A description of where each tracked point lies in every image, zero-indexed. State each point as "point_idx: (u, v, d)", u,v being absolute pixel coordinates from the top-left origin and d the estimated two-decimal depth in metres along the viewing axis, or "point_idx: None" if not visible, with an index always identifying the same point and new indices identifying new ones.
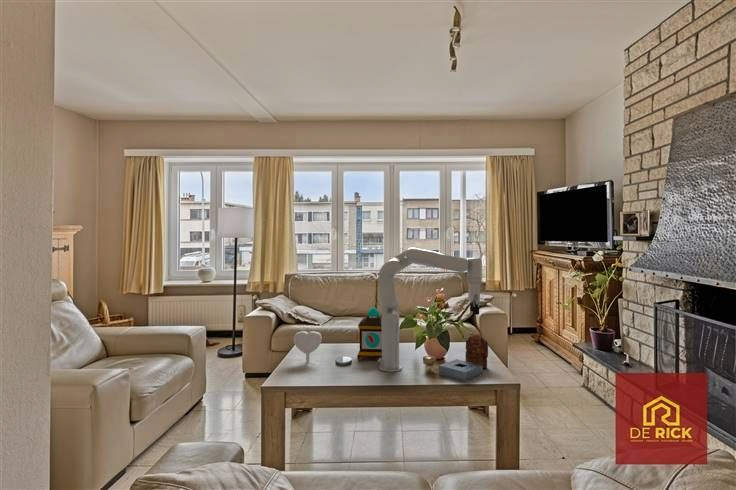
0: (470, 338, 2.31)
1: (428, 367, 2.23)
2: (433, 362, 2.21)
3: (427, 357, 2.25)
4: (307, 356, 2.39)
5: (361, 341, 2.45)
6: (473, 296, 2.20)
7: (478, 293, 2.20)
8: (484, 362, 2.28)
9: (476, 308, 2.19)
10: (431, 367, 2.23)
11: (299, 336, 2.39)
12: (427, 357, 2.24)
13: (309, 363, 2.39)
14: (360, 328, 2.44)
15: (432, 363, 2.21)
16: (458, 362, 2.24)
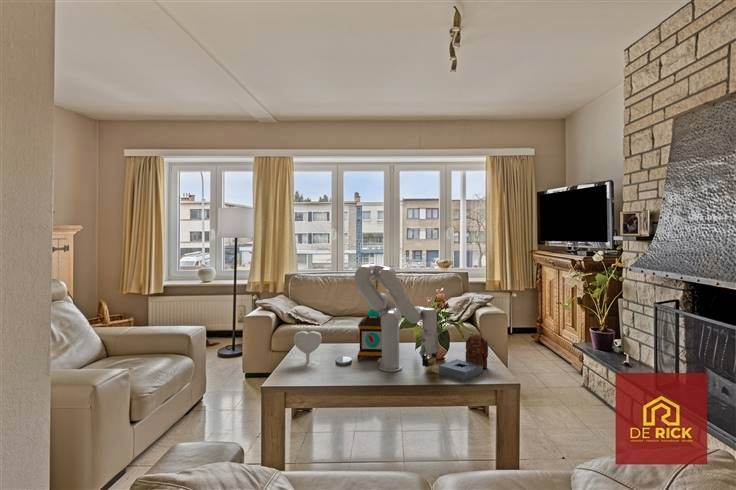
0: (470, 338, 2.31)
1: (428, 367, 2.23)
2: (433, 362, 2.21)
3: (427, 357, 2.25)
4: (307, 356, 2.39)
5: (361, 341, 2.45)
6: None
7: None
8: (484, 362, 2.28)
9: None
10: (431, 367, 2.23)
11: (299, 336, 2.39)
12: (427, 357, 2.24)
13: (309, 363, 2.39)
14: (360, 328, 2.44)
15: (432, 363, 2.21)
16: (458, 362, 2.24)
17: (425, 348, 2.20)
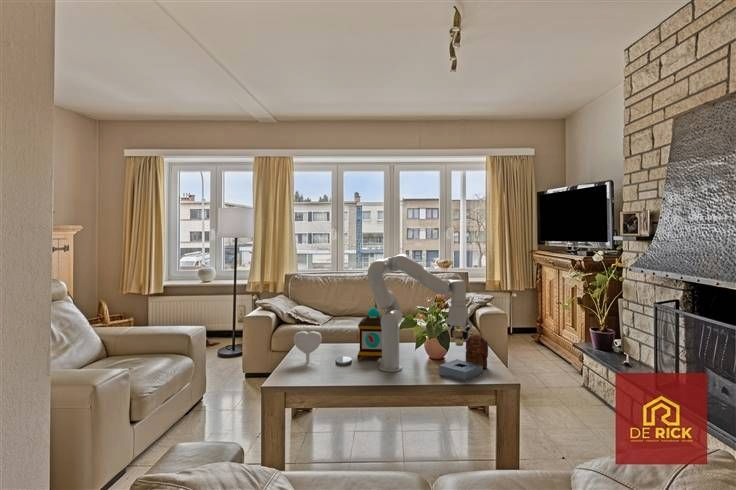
0: (470, 338, 2.31)
1: (455, 339, 2.19)
2: (454, 334, 2.17)
3: (459, 330, 2.19)
4: (307, 356, 2.39)
5: (361, 341, 2.45)
6: (466, 320, 2.14)
7: (468, 316, 2.16)
8: (484, 362, 2.28)
9: (467, 333, 2.15)
10: (456, 340, 2.18)
11: (299, 336, 2.39)
12: (457, 330, 2.20)
13: (309, 363, 2.39)
14: (360, 328, 2.44)
15: (453, 335, 2.17)
16: (458, 362, 2.24)
17: None
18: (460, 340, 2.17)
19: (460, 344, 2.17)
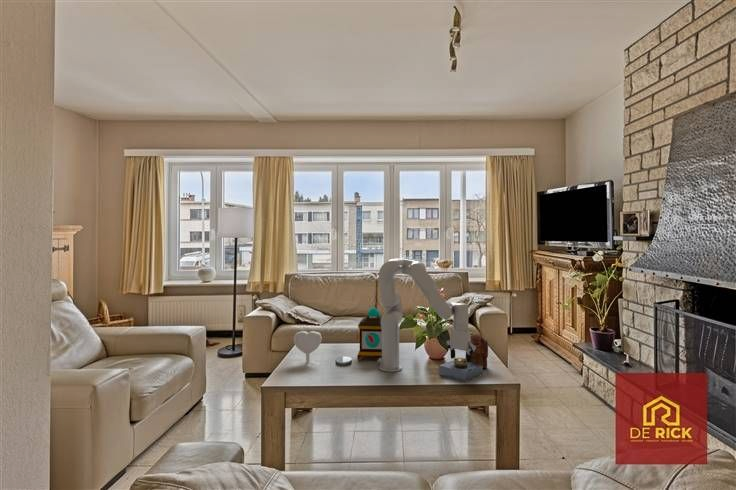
0: None
1: None
2: (455, 363, 2.17)
3: (461, 359, 2.19)
4: (307, 356, 2.39)
5: (361, 341, 2.45)
6: (467, 344, 2.14)
7: (470, 340, 2.16)
8: (484, 362, 2.28)
9: (470, 355, 2.14)
10: None
11: (299, 336, 2.39)
12: (459, 359, 2.20)
13: (309, 363, 2.39)
14: (360, 328, 2.44)
15: (455, 364, 2.17)
16: None
17: None
18: None
19: None
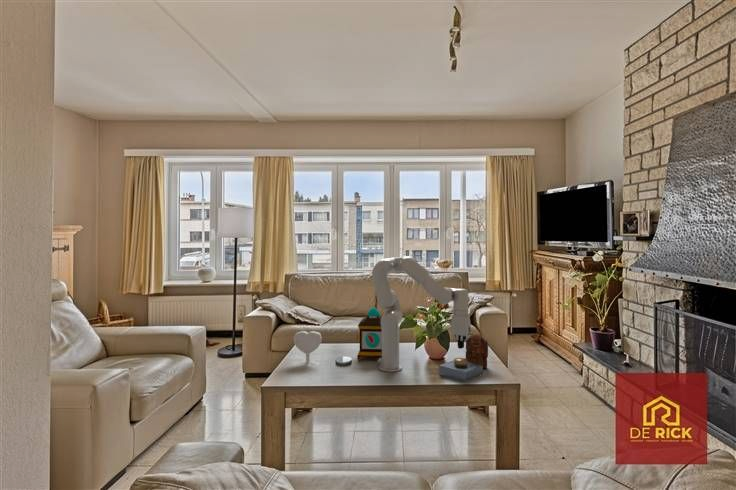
0: (470, 338, 2.31)
1: None
2: (455, 363, 2.17)
3: (461, 359, 2.19)
4: (307, 356, 2.39)
5: (361, 341, 2.45)
6: (467, 329, 2.14)
7: (470, 325, 2.16)
8: (484, 362, 2.28)
9: (463, 342, 2.17)
10: None
11: (299, 336, 2.39)
12: (459, 359, 2.20)
13: (309, 363, 2.39)
14: (360, 328, 2.44)
15: (455, 364, 2.17)
16: None
17: None
18: None
19: None
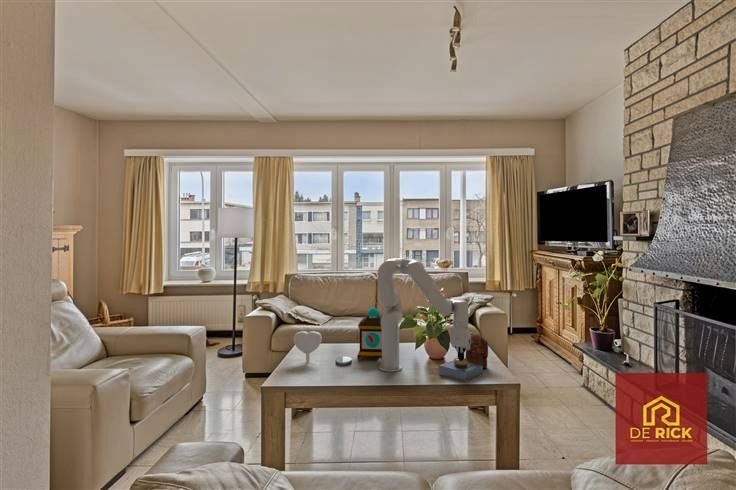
0: None
1: None
2: (455, 363, 2.17)
3: None
4: (307, 356, 2.39)
5: (361, 341, 2.45)
6: (467, 341, 2.14)
7: (470, 337, 2.16)
8: (484, 362, 2.28)
9: (463, 353, 2.17)
10: None
11: (299, 336, 2.39)
12: None
13: (309, 363, 2.39)
14: (360, 328, 2.44)
15: (455, 364, 2.17)
16: None
17: None
18: None
19: None
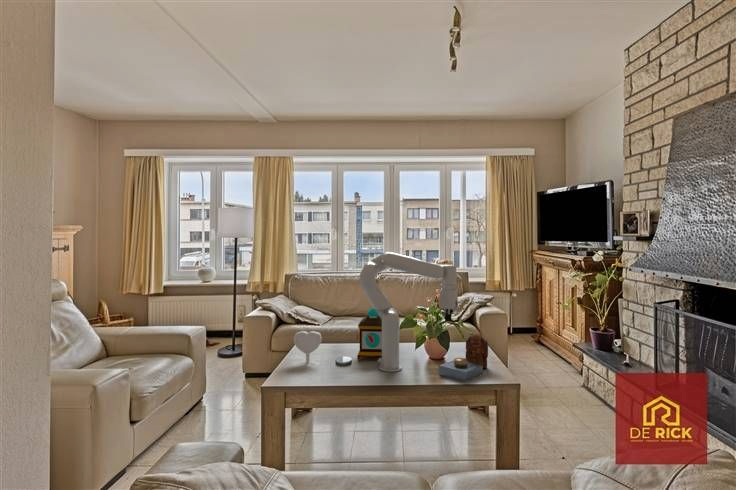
0: (470, 338, 2.31)
1: None
2: (455, 363, 2.17)
3: (461, 359, 2.19)
4: (307, 356, 2.39)
5: (361, 341, 2.45)
6: (454, 302, 2.25)
7: (457, 299, 2.27)
8: (484, 362, 2.28)
9: (450, 315, 2.29)
10: None
11: (299, 336, 2.39)
12: (459, 359, 2.20)
13: (309, 363, 2.39)
14: (360, 328, 2.44)
15: (455, 364, 2.17)
16: None
17: None
18: None
19: None
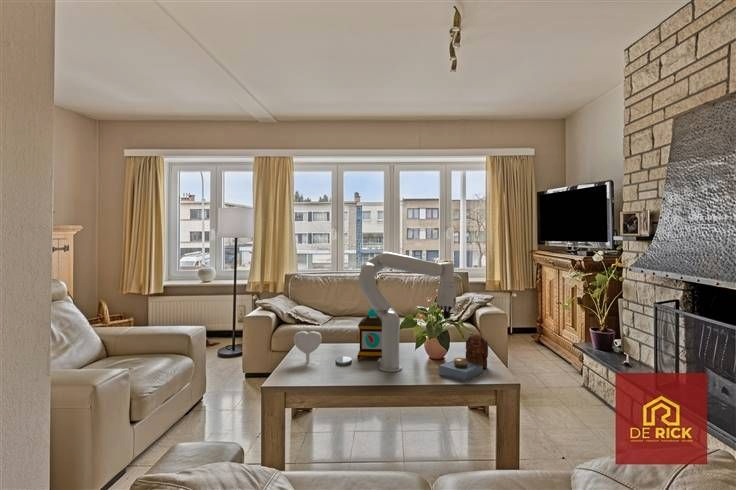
0: (470, 338, 2.31)
1: None
2: (455, 363, 2.17)
3: (461, 359, 2.19)
4: (307, 356, 2.39)
5: (361, 341, 2.45)
6: (453, 300, 2.27)
7: (455, 296, 2.29)
8: (484, 362, 2.28)
9: (449, 312, 2.31)
10: None
11: (299, 336, 2.39)
12: (459, 359, 2.20)
13: (309, 363, 2.39)
14: (360, 328, 2.44)
15: (455, 364, 2.17)
16: None
17: None
18: None
19: None
